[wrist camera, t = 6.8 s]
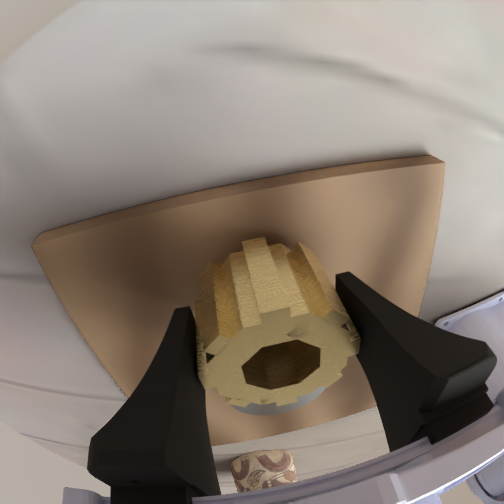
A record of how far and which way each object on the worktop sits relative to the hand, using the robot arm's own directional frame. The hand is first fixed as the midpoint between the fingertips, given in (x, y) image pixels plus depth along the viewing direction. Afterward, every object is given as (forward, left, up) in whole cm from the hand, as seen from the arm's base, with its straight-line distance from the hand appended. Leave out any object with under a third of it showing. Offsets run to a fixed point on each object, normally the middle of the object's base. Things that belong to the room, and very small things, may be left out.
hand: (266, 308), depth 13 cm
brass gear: (0, 0, -1) cm, 1 cm away
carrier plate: (0, +7, -3) cm, 8 cm away
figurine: (+3, +28, -4) cm, 28 cm away
